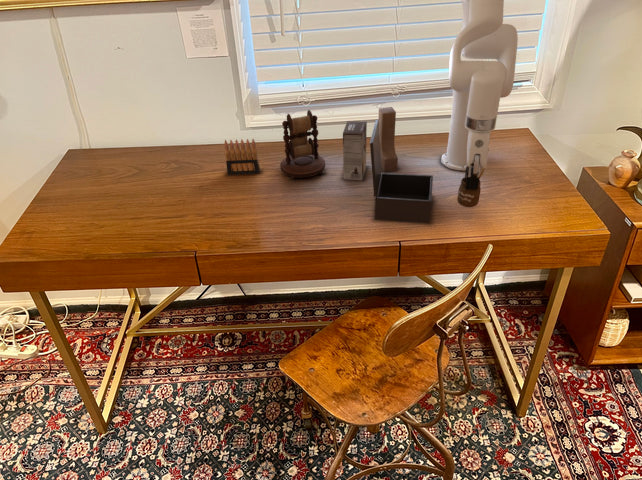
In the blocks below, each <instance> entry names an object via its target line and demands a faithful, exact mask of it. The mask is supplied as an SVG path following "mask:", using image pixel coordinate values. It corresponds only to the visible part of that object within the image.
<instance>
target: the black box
mask: <svg viewBox="0 0 642 480" xmlns="http://www.w3.org/2000/svg"><path fill="white" fill-rule="evenodd" d="M433 183H434V175H433V174H432V175H431V174H412V173H396V172H395V173H393V172H381V177H380V182H379V187H378V192H377V197H374V201H375V202H374V221H391V222H402V223H403V222H405V223H417V224H419V223H421V224H430V221H431V213H432V204H433V202H432V201H433Z"/></svg>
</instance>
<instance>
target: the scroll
mask: <svg viewBox="0 0 642 480" xmlns="http://www.w3.org/2000/svg"><path fill="white" fill-rule="evenodd" d="M317 123H318V116H317V115H316V114H313V113H312V111H311V110H310V109H308V110H307V112H306V115H303V116H298V117H292V115H291V114H290V113H287V115H286V120H283V121H282V123H281V125H282V129H283V136H282V137H283V138H282V139H283V141H284V143H285V144H284V148H285V149H284V154H285V158H283V159H282V160H281V162H280V164H279V165H280V167H279V168H280V171H281V172H282V173H283V174H285V176H289V177H291V178H292V180H293V181H294V180H296V178H309V177H313V176H316V175H319V174H320V175H322V174H323V173H324V170H325V168H326V161H325V158H323V157H322V156H321V155H320V154H319V151H318V150H319V143H318V142H319V140H318V136H319V130H318V125H317ZM311 136H312V137H313V138H311Z"/></svg>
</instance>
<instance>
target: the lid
mask: <svg viewBox="0 0 642 480" xmlns="http://www.w3.org/2000/svg"><path fill="white" fill-rule="evenodd" d="M369 149H370V150H369V151H370V161H371V163H370V164H371V175H372V176H371V177H372V190H373V197H374V198H375V197H377V192H378V187H379V182H380V177H381V173H383V172H382V170H383V169H382V166H381V153H380V137H379V120H378V119H375V121H374V124H373V129H372V132H371V136H370V141H369Z"/></svg>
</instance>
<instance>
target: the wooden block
mask: <svg viewBox="0 0 642 480" xmlns="http://www.w3.org/2000/svg"><path fill="white" fill-rule="evenodd" d="M396 119H397V112H396V110H395V108H393V107H392V106H387V107H380V108H378V119H377V120H379V137H380V153H381V169H382V170H383V172H391V171H397V170H398V165H399V164H398V163H399V157H398V155H397V152H396V147H395V138H396Z"/></svg>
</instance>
